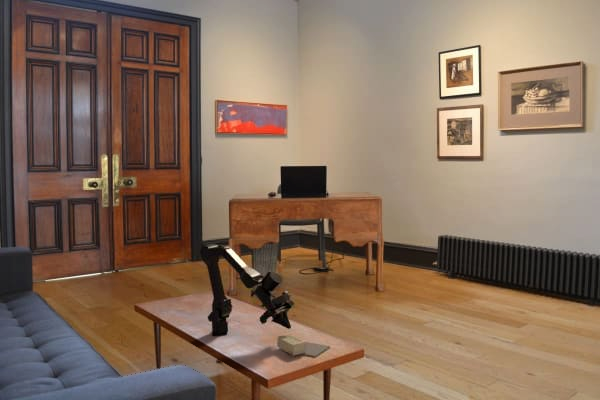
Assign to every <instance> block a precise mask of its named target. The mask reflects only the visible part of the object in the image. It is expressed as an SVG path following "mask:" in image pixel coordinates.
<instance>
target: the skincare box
mask: <svg viewBox="0 0 600 400" xmlns="http://www.w3.org/2000/svg"><path fill="white" fill-rule="evenodd" d="M276 338H277V342H276V343H277V348H279V349H281V350H283V351H284V352H285V351H286V352H287V353H288V354H290V355H292V356H297V355H298V356H299V355H300V354H302V353H306V342H307V341H305V340H303V339H301V338H299V337H296V336H295V335H292V334H291V333H287V334H283V335H279V336H276ZM286 352H285V353H286Z"/></svg>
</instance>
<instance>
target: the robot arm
mask: <svg viewBox="0 0 600 400" xmlns="http://www.w3.org/2000/svg"><path fill="white" fill-rule="evenodd" d="M199 255H200V257H201V260H202V261H203V263H204V265H206V268H207V271H208V278H209V282H210V287H211V291H212V295H213V299H212V303H211V312H210V313H209V314H208V316H207V320H208V322H211V336H213V337H215V336H225V335H226V336H227V335H228V332H229V323H228V320H227V319H229V318H230V315H231V313H232V311H233V305H232V299H231V298H228V297H227V296H226V294H225V289H224V285H223V280H222V276H221V271H220V265H219V262H220V257H221V256H222V258H223V259H224V260H225V261H226V262H227V263H228V264H229V265H230V267H231V268H233V270H235V272H236V273H237V274H238V276H239V278H240V281H241V283H242V284H243V285H244V287H245V288H246V289H251V291H250V298H253V297H256V298H257V299H258V300H259V302H260V303H261V305H260V306H261V307H262V308H265V309H266V310H265V311H264V312H263V313H262V314H261V315H260V316H259V322H260V323H261V324H262V325H264V324H266V323H267V322H268V319H270V318H272V319H271V320H270V321H271V323H272V322H273V323H275V324H277V325H280V326H282V327H284V328H286V329H288V330H289V329H291V328H292V325H291V323H290V320H289V317H288V312H289V311H290V310H292V308H293V307H294V306H295V302H294V301H293V300H292V299H291V296H292V295H291V293H290V292H289V291H288V290H285V291H282V292H281V295H279V296H278V295H277V294H273V293H272V292H274V291H275V290H276V289H277V288H278V287H279V286H280V285H281V283H282V282H283V278H282V276H281V275H280V274H278V273H277V272H274V270H269V271H268V272H266V274H265V275H261V273H260V272H258V271H257V270H255V269H254V268H252V267H250V266H248V265H247V264H246V263H245V262H244V261H243V260H242V258H240V257H239V255H238V254H237V253H236V252H235V251H234V250H233V249H232V247H231V246H230V245H228V244H226V245H224V244H223V245H222V244H221V245H217V244H216V243H210V244H205V245H202V246H201V247H200V249H199ZM253 288H254V289H253Z"/></svg>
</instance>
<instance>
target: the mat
mask: <svg viewBox="0 0 600 400" xmlns="http://www.w3.org/2000/svg"><path fill="white" fill-rule="evenodd" d="M305 342H306V353H302V354H299V355H301V356H306V357H311V358H317V357H318V356H320V355H321V354H323V353H324V352H326V351H327V350H329V349H330V348H331V346H330V345H324V344H320V343H313V342H310V341H305ZM284 352H285V353H286V351H284Z"/></svg>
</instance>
